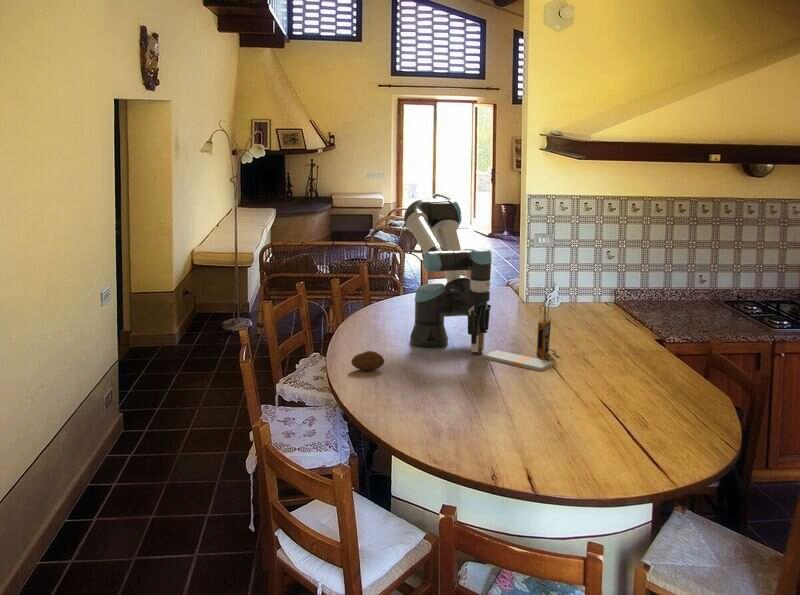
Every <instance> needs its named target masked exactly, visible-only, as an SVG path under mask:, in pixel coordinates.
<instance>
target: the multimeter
mask: <svg viewBox="0 0 800 595" xmlns="http://www.w3.org/2000/svg"><path fill="white" fill-rule="evenodd" d="M545 304H547V306H548V309H547V307H546V305H545ZM542 307H543V309H544V311H543V319H541V320H539V322H538V324H537V337H536V340H537V341H536V356H537V357H539V359H541V360H545V361H550V360H555V357H550V358H546V359H544V358H542V357H545V356H546V355H547V354H549V352H550V351H552V352H553V353H552V355H554V356H556V359H557V358H560V359H562V357H561V355H558V354H556V353H557V351H556V350H554V349H550V343H551V342H550V339H551V338H550V337H551V319H549V318H546V317H547V315H546V314H550V313H549V310H550V303H549V302H547V301H545V302H544V304H542V305H540V308H539V313H541V312H542V311H541V310H542Z"/></svg>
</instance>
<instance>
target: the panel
mask: <svg viewBox="0 0 800 595" xmlns="http://www.w3.org/2000/svg"><path fill="white" fill-rule="evenodd" d="M483 358H484V359H486V360H488V361H489V360H490V361H495V362H499V363H503V364H507V365H511V366H517V367H521V368H526V369H530V370H535V371H539V372H542V371H544V370H546V369H549V368H550V367H552V366H554V362H553V361H550V360H542V359H540V358H535V357H532V356H531V357H530V356H526V355H521V354H517V353H511V352H508V351H502V350H498V349H496V350H493V351H491V352H488V353H485V354H484V355H483Z"/></svg>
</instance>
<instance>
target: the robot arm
mask: <svg viewBox="0 0 800 595" xmlns="http://www.w3.org/2000/svg"><path fill="white" fill-rule="evenodd" d="M403 222H404V224H405V227H406V229H407V230H408V231H409V232H411V233H412V234H413V236H414V238H415V239H416V241H417V243H418V245H419V246H420V249H421V250H422V252H423V260H422V261H423V267H424V270H425V271H427V272H435V273H437V272H444V275H445V278H446V283H445V284H442V283H426V284H423V285H420V286H418V287H417V288H416V289H415V294H414V295H415V296H414V325H413V328H412V331H411V334H410V336H409V343H410V344H411V345H412V346H415V347H419V348H426V349H430V348H431V349H432V348H433V349H434V348H442V347H445V346H447V345H448V344H449V336H448V334H447V331H446V330H447V329H446V327H445V318H447V317H467V334H468V335H470V336H471V339H470V343H471V344H470V351H471V352H472V353H473V352H478V341H479V335H477V334H478V326H479V325H480V332H483V342H482V351H484V350H485V334H486V333H487V334H488V330H489V324H490V311H491V308H492V305H491V304H488V302H489V301H490V300H491V299H490V298H491V297H490V294H491V291H490V290H491V276H492V275H491V272H492V251H491V250H490V249H488V248H473V249H472V248H465V249H462V248H461V245H460V240H459V237H458V229H459V228H460V227H459V226H460V225H461V222H462V211H461V206H460V205H459V204H458V202H457V200H454V199H447V198H443V199H418V200H417V199H416V200H415V201H413V202H411V204H409V206H408V207H407V208H406V210H405V212H404V216H403ZM467 271H469V272H470V274H469V275H470V276H469V277H468V273H467Z"/></svg>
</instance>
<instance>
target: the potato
mask: <svg viewBox="0 0 800 595" xmlns="http://www.w3.org/2000/svg"><path fill="white" fill-rule="evenodd" d="M350 364H351V365H352V366H353V367H354V368H355V369H357V370H360V371H375V370H378V369H380V368H381V367H383V365H384V364H385V360H384V357H383V356H382V355H381V354H379V353H378V352H376V351H371V350H367V351H364V352H362V353H358V354H356V355H355V356H353V357H352V359H351V361H350Z"/></svg>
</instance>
